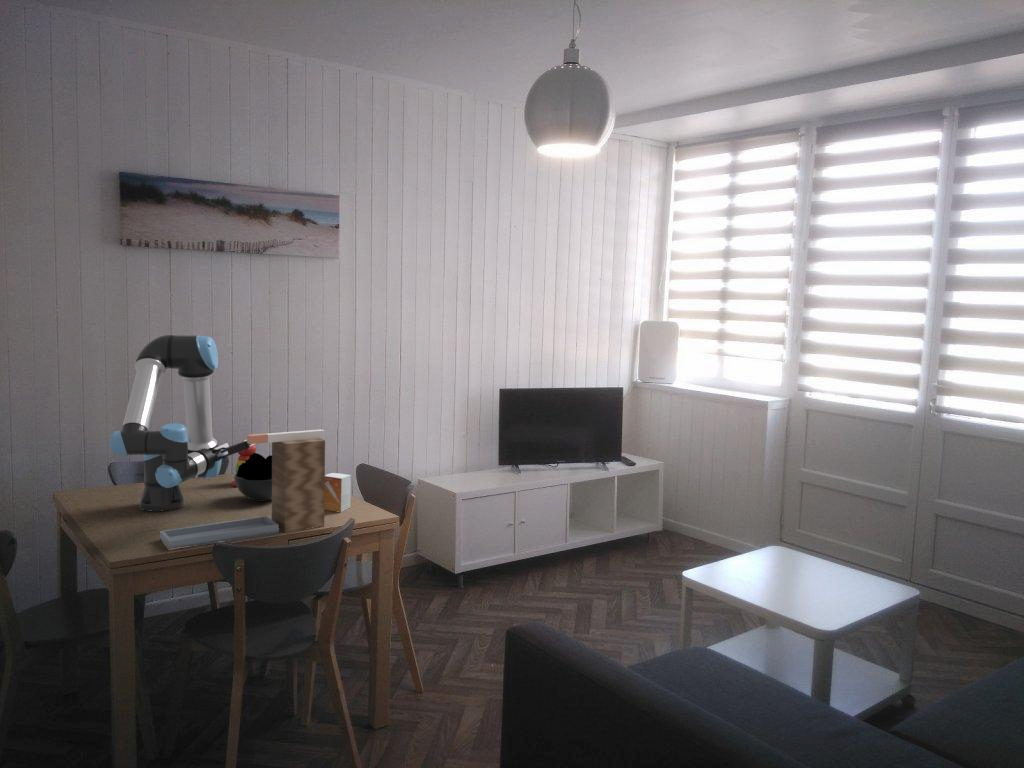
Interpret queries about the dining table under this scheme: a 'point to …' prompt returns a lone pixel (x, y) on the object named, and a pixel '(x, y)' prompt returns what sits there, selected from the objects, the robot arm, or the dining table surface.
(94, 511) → the dining table surface
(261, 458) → the coal bowl
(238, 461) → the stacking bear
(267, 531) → the tray
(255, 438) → the marker
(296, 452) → the pedestal
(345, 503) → the small box
